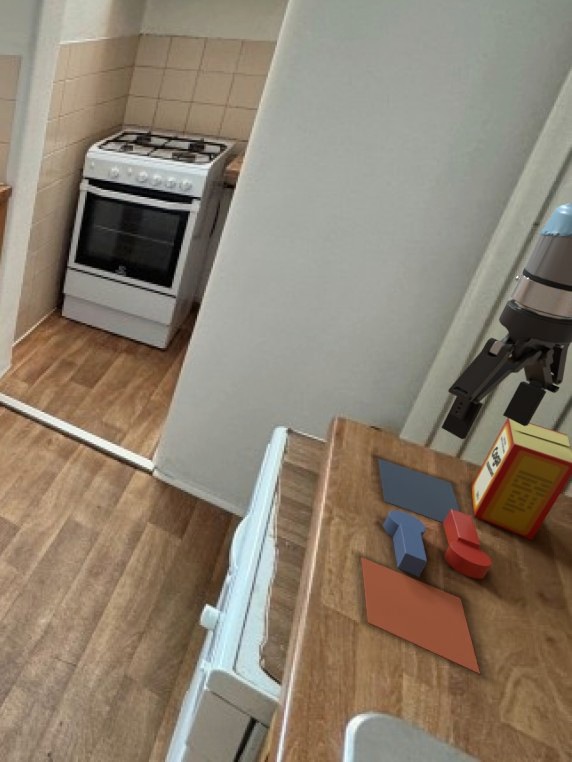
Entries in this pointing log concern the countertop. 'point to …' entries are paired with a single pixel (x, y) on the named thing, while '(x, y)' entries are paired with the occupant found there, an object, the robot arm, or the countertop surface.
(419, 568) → the blue t-shaped piece
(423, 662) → the countertop surface
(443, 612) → the terracotta mat
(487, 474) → the baking soda box
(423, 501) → the slate mat
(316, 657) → the countertop surface
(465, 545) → the red keyhole-shaped block
